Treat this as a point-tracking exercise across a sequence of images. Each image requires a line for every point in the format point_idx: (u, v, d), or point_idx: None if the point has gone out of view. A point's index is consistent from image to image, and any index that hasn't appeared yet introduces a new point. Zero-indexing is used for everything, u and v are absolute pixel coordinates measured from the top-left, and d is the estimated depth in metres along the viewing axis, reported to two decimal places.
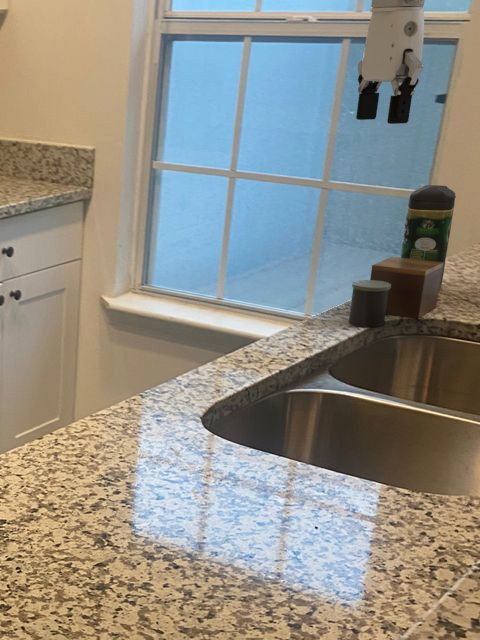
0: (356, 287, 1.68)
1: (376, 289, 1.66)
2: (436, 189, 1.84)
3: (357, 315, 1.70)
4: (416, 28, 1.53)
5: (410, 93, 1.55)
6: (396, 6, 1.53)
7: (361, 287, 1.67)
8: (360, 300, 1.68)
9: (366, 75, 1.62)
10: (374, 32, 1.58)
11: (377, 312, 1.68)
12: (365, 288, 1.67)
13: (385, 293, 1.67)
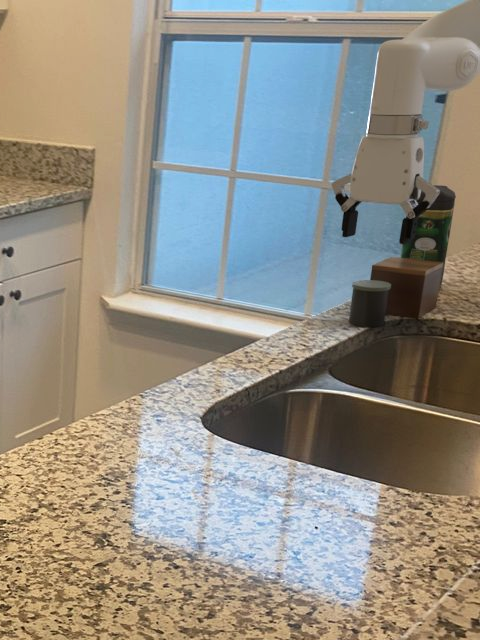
0: (356, 287, 1.68)
1: (376, 289, 1.66)
2: None
3: (357, 315, 1.70)
4: (420, 154, 1.58)
5: (420, 215, 1.60)
6: (406, 134, 1.56)
7: (361, 287, 1.67)
8: (360, 300, 1.68)
9: (360, 196, 1.64)
10: (373, 157, 1.60)
11: (377, 312, 1.68)
12: (365, 288, 1.67)
13: (385, 293, 1.67)
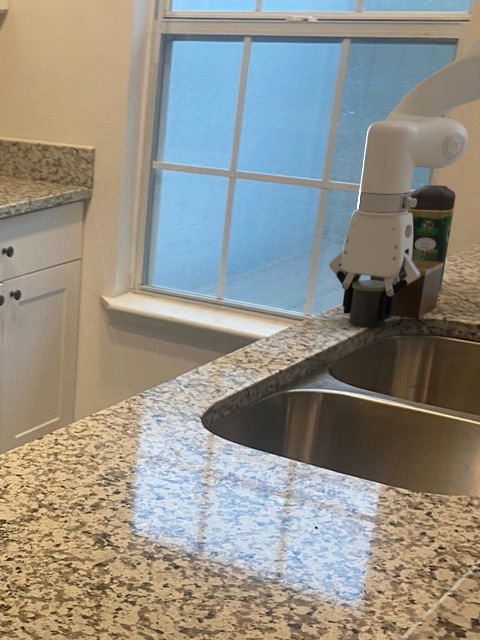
0: (356, 287, 1.68)
1: (376, 289, 1.66)
2: (436, 189, 1.84)
3: (357, 315, 1.70)
4: (410, 230, 1.63)
5: None
6: (396, 211, 1.61)
7: (361, 287, 1.67)
8: (360, 300, 1.68)
9: (352, 268, 1.68)
10: (363, 232, 1.65)
11: (377, 312, 1.68)
12: (365, 288, 1.67)
13: (385, 293, 1.67)
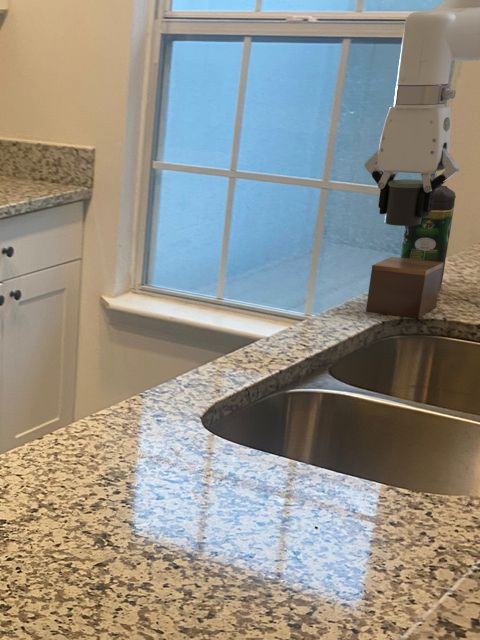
0: (393, 185, 1.67)
1: (413, 185, 1.65)
2: None
3: (393, 214, 1.68)
4: (448, 123, 1.61)
5: None
6: (434, 103, 1.59)
7: (398, 184, 1.66)
8: (397, 198, 1.67)
9: (388, 166, 1.67)
10: (401, 127, 1.63)
11: (414, 210, 1.67)
12: (402, 185, 1.65)
13: (422, 190, 1.66)
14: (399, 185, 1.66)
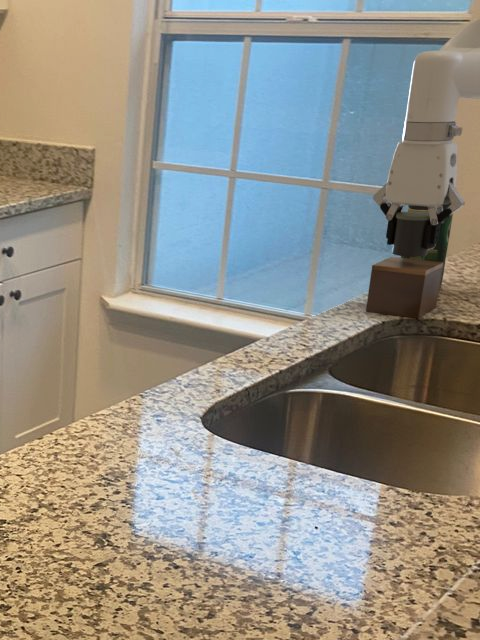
0: (400, 217, 1.72)
1: (420, 218, 1.70)
2: None
3: (400, 245, 1.73)
4: (454, 159, 1.67)
5: None
6: (441, 140, 1.64)
7: (405, 217, 1.71)
8: (404, 230, 1.72)
9: (396, 199, 1.72)
10: (409, 162, 1.69)
11: (421, 242, 1.72)
12: (409, 217, 1.71)
13: (429, 222, 1.71)
14: (406, 217, 1.71)
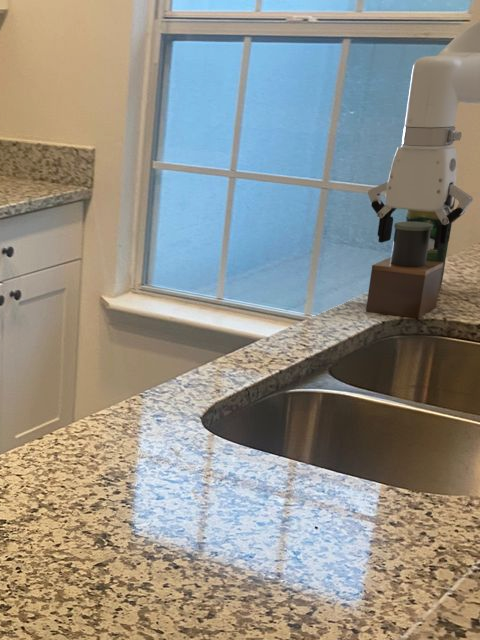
0: (399, 227, 1.73)
1: (419, 228, 1.71)
2: None
3: (399, 255, 1.74)
4: (454, 164, 1.67)
5: (453, 221, 1.69)
6: (441, 145, 1.65)
7: (404, 227, 1.72)
8: (402, 240, 1.73)
9: (396, 204, 1.73)
10: (408, 166, 1.69)
11: (419, 252, 1.73)
12: (408, 228, 1.71)
13: (427, 233, 1.72)
14: (405, 228, 1.72)
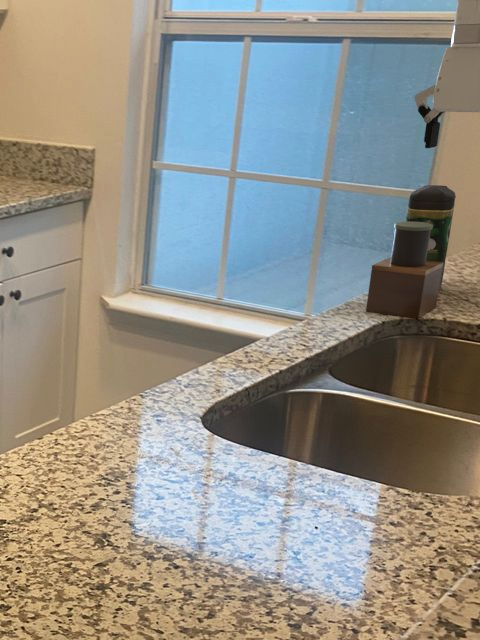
0: (399, 227, 1.73)
1: (419, 228, 1.71)
2: (436, 189, 1.84)
3: (399, 255, 1.74)
4: None
5: None
6: None
7: (404, 227, 1.72)
8: (402, 240, 1.73)
9: (444, 106, 1.70)
10: (457, 66, 1.66)
11: (419, 252, 1.73)
12: (408, 228, 1.71)
13: (427, 233, 1.72)
14: (405, 228, 1.72)
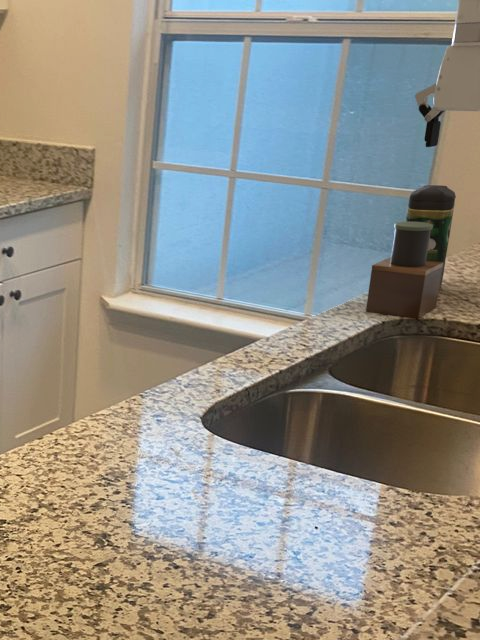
0: (399, 227, 1.73)
1: (419, 228, 1.71)
2: (436, 189, 1.84)
3: (399, 255, 1.74)
4: None
5: None
6: None
7: (404, 227, 1.72)
8: (402, 240, 1.73)
9: (444, 105, 1.70)
10: (458, 65, 1.66)
11: (419, 252, 1.73)
12: (408, 228, 1.71)
13: (427, 233, 1.72)
14: (405, 228, 1.72)
